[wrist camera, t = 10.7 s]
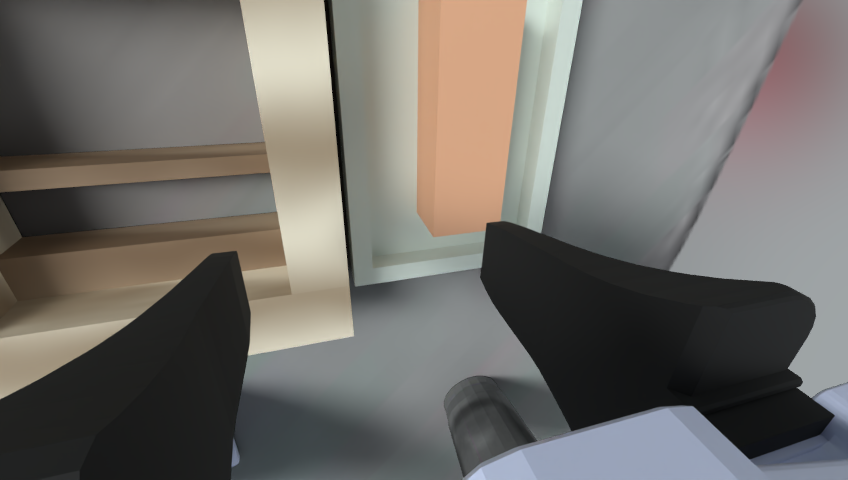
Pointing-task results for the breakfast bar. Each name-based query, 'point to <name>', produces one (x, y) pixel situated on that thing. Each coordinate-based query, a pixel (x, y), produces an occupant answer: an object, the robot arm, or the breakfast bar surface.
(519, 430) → the beverage cup
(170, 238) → the block
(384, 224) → the tray
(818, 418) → the robot arm
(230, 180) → the breakfast bar surface
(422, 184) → the slab
